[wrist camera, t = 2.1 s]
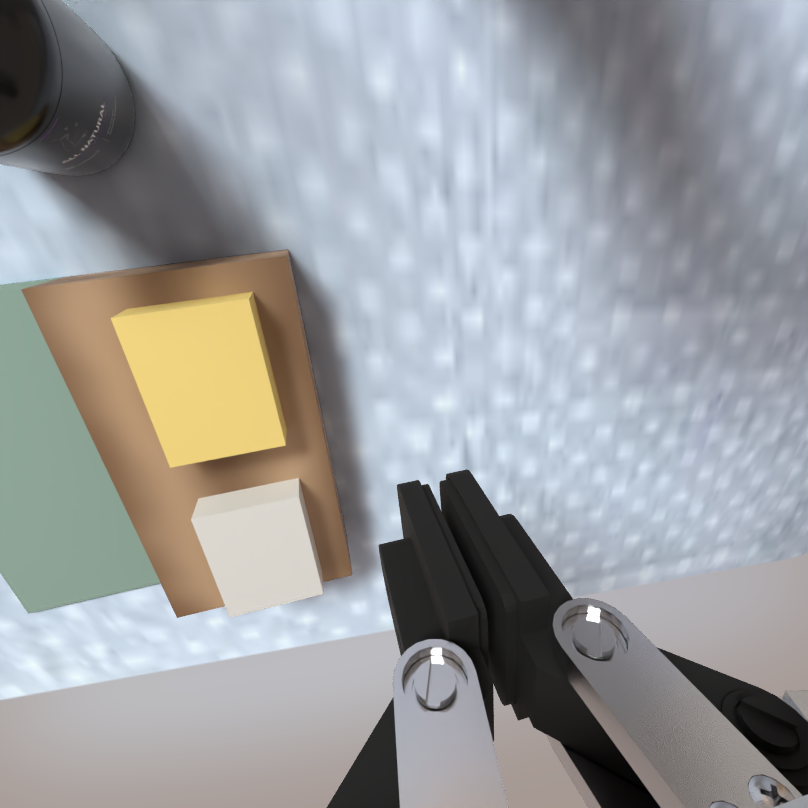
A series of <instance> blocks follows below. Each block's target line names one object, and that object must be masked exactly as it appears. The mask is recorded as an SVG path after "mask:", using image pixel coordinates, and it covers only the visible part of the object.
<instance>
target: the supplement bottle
mask: <svg viewBox="0 0 808 808" xmlns="http://www.w3.org/2000/svg"><path fill="white" fill-rule="evenodd" d="M134 123H135V110H134V102H133V96H132V93H131V89H130V86H129V83H128V80H127V78H126V76H125V73H124V71H123V69H122V68H121V66H120V64H119V62H118V61H117V59H116V58H115V56H114V55H113V53H112V52H111V50H110V49H109V48H108V46H107V45H106V44H105V43H104V42H103V41H102V39H101V38H100V37H99V36H98V35H97V34H96V33H95V32H94V31H93V30H92V29H91V28H90V27H89V26H88V25H87V24H86V23H85V22H84V21H83V20H82V19H81V18H80V17H78V16H77V15H76V14H75V13H74V12H73V11H72V10H71V9H70V8H69V7H68V6H67V5H66V4H64V3H63V2H62V1H61V0H0V164H2V165H7V166H13V167H18V168H24V169H29V170H35V171H40V172H46V173H52V174H59V175H67V176H83V175H90V174H94V173H97V172H100V171H103V170H105V169H106V168H108V167H110V166H111V165H113V164H114V163H115V162H116V161H117V160H119V159H120V157H121V156H122V155H123V154H124V152H125V151H126V149H127V147H128V145H129V143H130V141H131V138H132V135H133V130H134Z"/></svg>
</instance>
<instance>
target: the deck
mask: <svg viewBox="0 0 808 808" xmlns="http://www.w3.org/2000/svg"><path fill="white" fill-rule="evenodd" d="M21 291H22V293H23V295H24V297H25V299H26V301H27V303H28V305H29V307H30V310H31V312H32V314H33V316H34V318H35V320H36V322H37V324H38V326H39V328H40V331H41V333H42V335H43V337H44V339H45V341H46V343H47V345H48V347H49V349H50V352H51V354H52V356H53V358H54V360H55V362H56V364H57V366H58V368H59V370H60V373H61V375H62V377H63V379H64V381H65V383H66V385H67V387H68V389H69V391H70V394H71V396H72V398H73V400H74V402H75V404H76V406H77V408H78V410H79V412H80V415H81V417H82V419H83V421H84V423H85V425H86V427H87V429H88V431H89V434H90V436H91V438H92V440H93V442H94V444H95V446H96V448H97V450H98V452H99V455H100V457H101V459H102V461H103V463H104V465H105V467H106V469H107V471H108V473H109V476H110V478H111V480H112V482H113V484H114V486H115V488H116V490H117V492H118V494H119V497H120V499H121V501H122V503H123V505H124V507H125V509H126V511H127V513H128V515H129V518H130V520H131V522H132V524H133V526H134V528H135V530H136V532H137V534H138V536H139V539H140V541H141V543H142V545H143V547H144V549H145V551H146V553H147V555H148V557H149V560H150V562H151V564H152V566H153V568H154V570H155V572H156V574H157V576H158V578H159V581H160V583H161V585H162V587H163V589H164V591H165V593H166V595H167V597H168V600H169V602H170V604H171V606H172V608H173V610H174V612H175V614H176V616H177V618H178V617H182V616H186V615H190V614H194V613H199V612H203V611H207V610H211V609H215V608H219V607H223V606H225V604H224V601H223V599H222V596H221V594H220V591H219V589H218V586H217V584H216V581H215V579H214V576H213V574H212V571H211V569H210V566H209V564H208V561H207V559H206V556H205V554H204V551H203V549H202V546H201V544H200V541H199V539H198V536H197V534H196V531H195V529H194V526H193V524H192V521H191V518H192V515H193V513H194V510H195V507H196V504H197V501H198V499H199V498H203V497H208V496H213V495H218V494H223V493H228V492H233V491H238V490H242V489H247V488H252V487H257V486H262V485H267V484H272V483H277V482H281V481H286V480H291V479H296V478H299V480H300V484H301V488H302V492H303V496H304V501H305V505H306V509H307V513H308V517H309V521H310V525H311V529H312V533H313V537H314V541H315V545H316V549H317V553H318V557H319V561H320V565H321V569H322V579H323V582H325V581H330V580H334V579H338V578H342V577H346V576H350V575H352V569H351V562H350V555H349V548H348V542H347V535H346V530H345V526H344V521H343V516H342V511H341V506H340V501H339V496H338V491H337V486H336V481H335V476H334V472H333V467H332V462H331V457H330V452H329V447H328V442H327V437H326V432H325V427H324V422H323V418H322V413H321V408H320V403H319V398H318V393H317V388H316V383H315V378H314V373H313V368H312V364H311V359H310V354H309V349H308V344H307V339H306V334H305V329H304V324H303V319H302V314H301V310H300V305H299V300H298V295H297V290H296V285H295V280H294V275H293V270H292V265H291V260H290V256H289V251H288V250H281V251H273V252H264V253H256V254H248V255H240V256H232V257H224V258H216V259H208V260H200V261H191V262H183V263H175V264H167V265H159V266H151V267H143V268H135V269H126V270H118V271H110V272H102V273H94V274H86V275H78V276H70V277H63V278H59V279H56V280H52V281H49V282H45V283H42V284H38V285H35V286H31V287H27V288H24V289H21ZM248 292H253V294H254V298H255V302H256V306H257V310H258V314H259V319H260V323H261V327H262V331H263V335H264V339H265V343H266V347H267V351H268V355H269V359H270V363H271V367H272V371H273V375H274V379H275V383H276V387H277V391H278V395H279V399H280V403H281V407H282V412H283V416H284V420H285V424H286V428H287V434H286V446H281V447H276V448H270V449H265V450H260V451H255V452H250V453H244V454H239V455H234V456H229V457H224V458H219V459H213V460H208V461H203V462H198V463H193V464H187V465H182V466H177V467H172V468H170V466H169V464H168V461H167V459H166V456H165V453H164V451H163V448H162V446H161V443H160V441H159V438H158V436H157V433H156V431H155V428H154V426H153V423H152V421H151V418H150V416H149V413H148V411H147V408H146V406H145V403H144V401H143V398H142V396H141V393H140V391H139V388H138V386H137V383H136V381H135V378H134V376H133V373H132V371H131V368H130V366H129V363H128V361H127V358H126V356H125V353H124V351H123V348H122V346H121V343H120V341H119V338H118V336H117V333H116V331H115V328H114V326H113V323H112V321H111V318H112V317H114V316H115V315H117V314H119V313H121V312H122V311H124V310H126V309H131V308H138V307H146V306H153V305H160V304H168V303H175V302H182V301H190V300H197V299H204V298H212V297H219V296H226V295H234V294H241V293H248Z"/></svg>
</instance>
